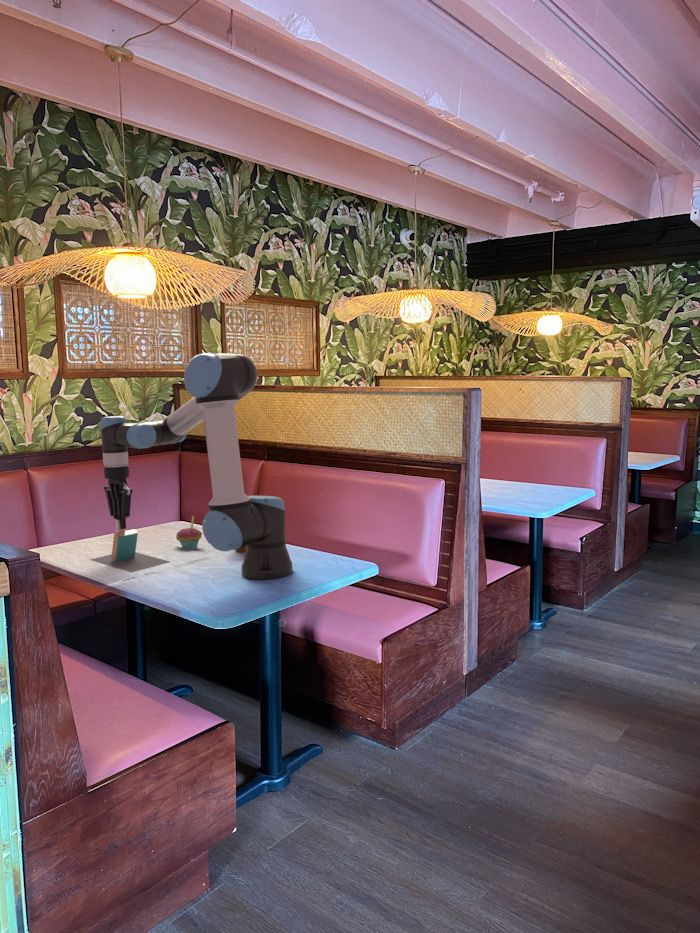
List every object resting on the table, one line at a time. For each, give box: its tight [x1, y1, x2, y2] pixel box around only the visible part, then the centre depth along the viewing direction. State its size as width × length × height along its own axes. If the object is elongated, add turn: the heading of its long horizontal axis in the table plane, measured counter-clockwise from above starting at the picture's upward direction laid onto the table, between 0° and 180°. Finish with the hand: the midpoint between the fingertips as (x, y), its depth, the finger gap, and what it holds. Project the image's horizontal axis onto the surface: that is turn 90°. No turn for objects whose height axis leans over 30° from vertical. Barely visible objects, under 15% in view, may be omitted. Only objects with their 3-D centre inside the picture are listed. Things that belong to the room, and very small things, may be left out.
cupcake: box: [175, 513, 203, 551], centre depth 235 cm, size 9×8×12 cm
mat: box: [89, 551, 171, 573], centre depth 218 cm, size 24×14×1 cm, turn 50°
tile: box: [111, 528, 139, 562], centre depth 219 cm, size 2×7×9 cm, turn 140°
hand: (121, 538), depth 220 cm, fingers closed
